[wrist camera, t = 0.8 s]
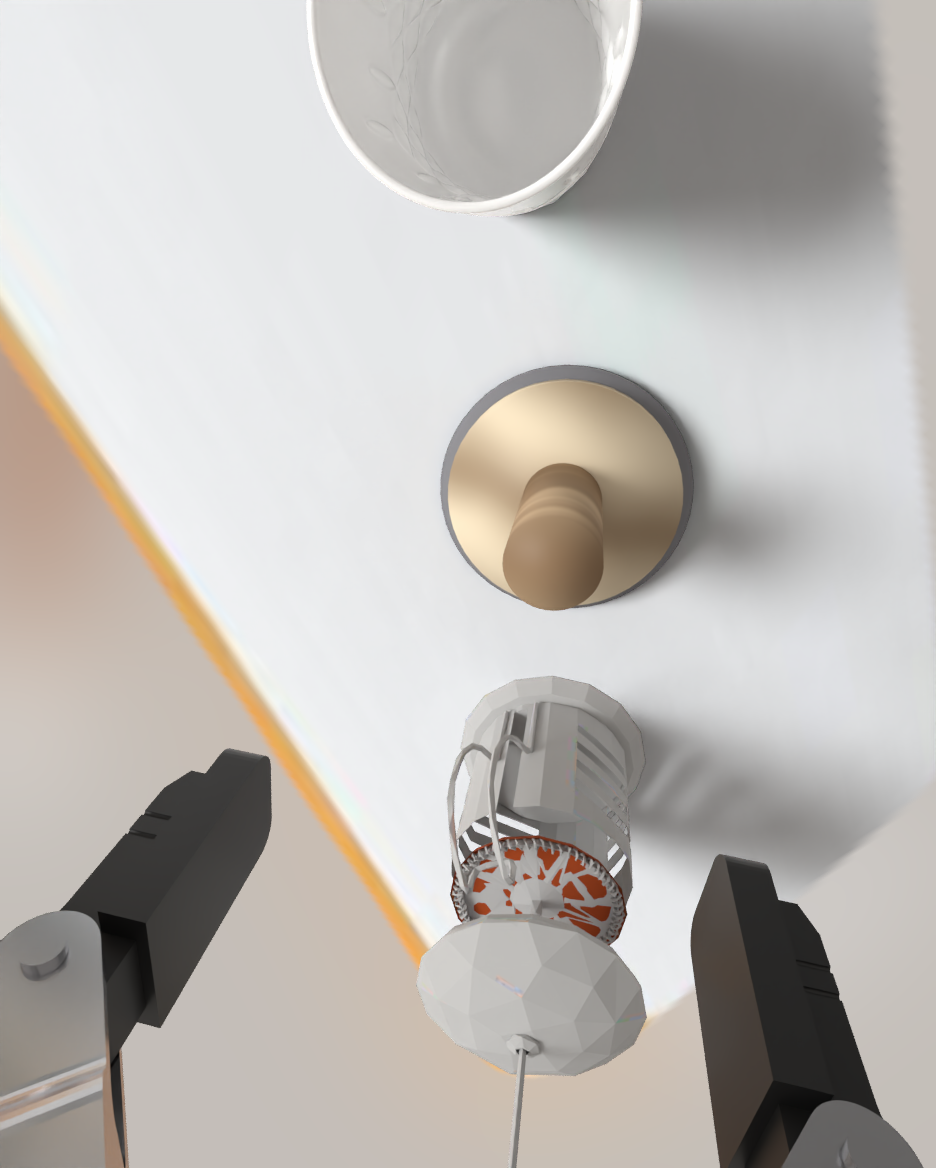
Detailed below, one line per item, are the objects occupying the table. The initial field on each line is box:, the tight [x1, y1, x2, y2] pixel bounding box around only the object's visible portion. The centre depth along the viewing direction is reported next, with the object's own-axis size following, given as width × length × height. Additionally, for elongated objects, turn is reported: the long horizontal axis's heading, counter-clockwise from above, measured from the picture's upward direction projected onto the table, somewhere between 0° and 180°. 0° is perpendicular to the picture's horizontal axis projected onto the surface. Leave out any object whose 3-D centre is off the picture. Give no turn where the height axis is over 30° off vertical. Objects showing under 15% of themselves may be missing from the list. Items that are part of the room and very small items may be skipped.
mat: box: [441, 365, 693, 608], centre depth 30 cm, size 11×11×1 cm
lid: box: [448, 379, 683, 610], centre depth 26 cm, size 10×10×8 cm
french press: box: [416, 676, 647, 1168], centre depth 25 cm, size 10×12×25 cm
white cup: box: [307, 0, 643, 217], centre depth 20 cm, size 8×8×10 cm
